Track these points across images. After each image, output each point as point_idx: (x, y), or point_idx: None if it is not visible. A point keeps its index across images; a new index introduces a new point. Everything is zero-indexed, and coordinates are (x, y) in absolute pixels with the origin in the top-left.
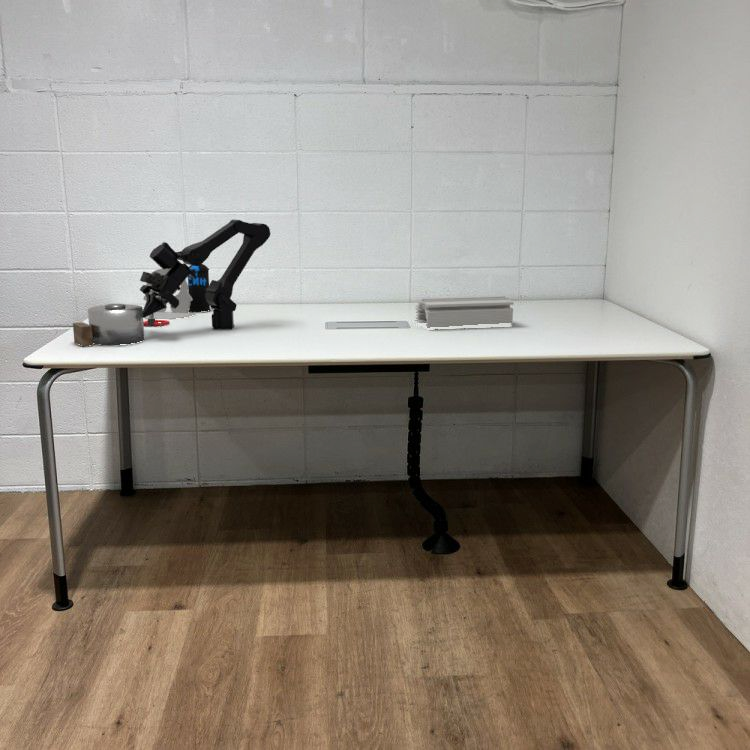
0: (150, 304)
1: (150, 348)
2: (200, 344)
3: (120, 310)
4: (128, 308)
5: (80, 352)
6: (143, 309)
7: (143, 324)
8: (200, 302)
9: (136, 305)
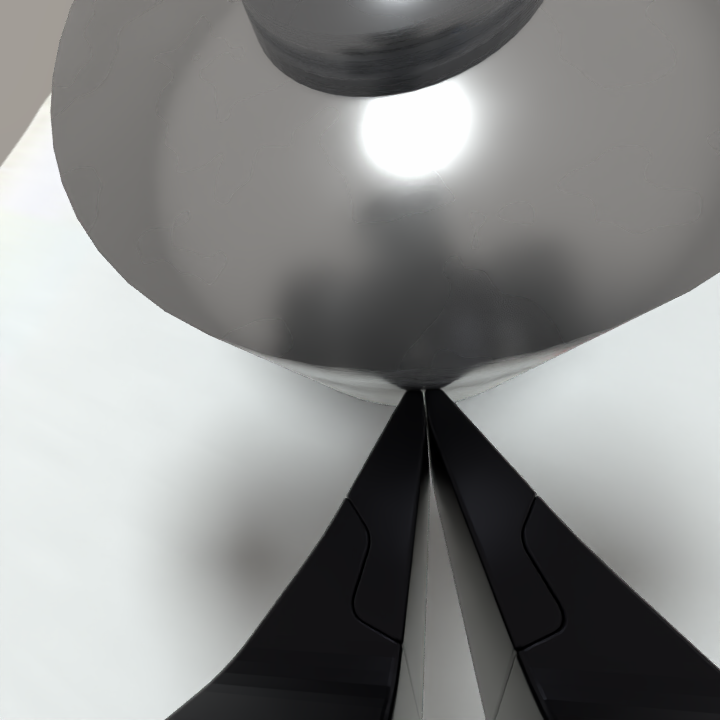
0: (305, 573)
1: (105, 345)
2: (14, 645)
3: (186, 22)
4: (282, 128)
5: None
6: (475, 441)
7: (318, 381)
8: None
9: (572, 319)
